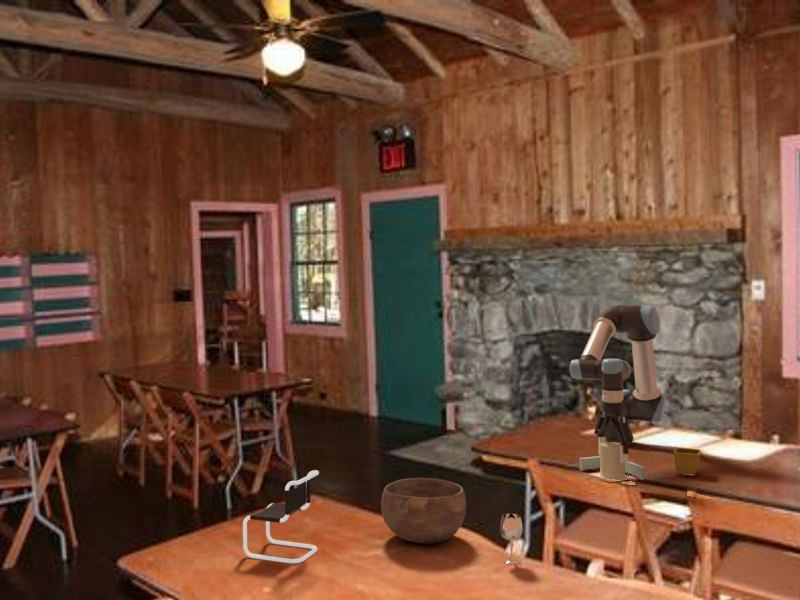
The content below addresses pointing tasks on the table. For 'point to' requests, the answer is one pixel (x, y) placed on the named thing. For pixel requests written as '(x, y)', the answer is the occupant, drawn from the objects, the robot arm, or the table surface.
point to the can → (611, 461)
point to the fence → (629, 466)
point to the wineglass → (511, 532)
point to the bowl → (423, 509)
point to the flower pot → (687, 460)
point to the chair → (284, 517)
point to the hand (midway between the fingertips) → (612, 458)
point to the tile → (615, 479)
